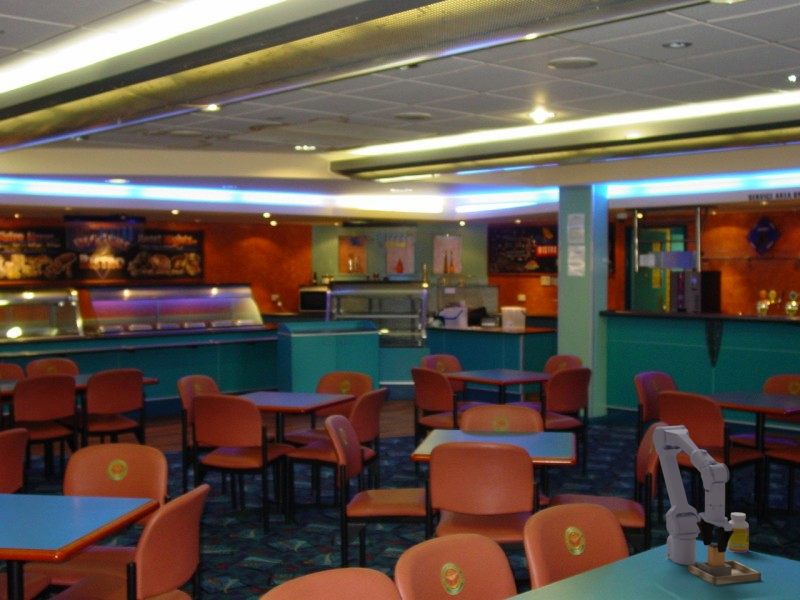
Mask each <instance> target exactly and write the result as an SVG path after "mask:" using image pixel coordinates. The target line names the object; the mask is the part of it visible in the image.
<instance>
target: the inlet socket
mask: <svg viewBox="0 0 800 600" xmlns="http://www.w3.org/2000/svg"><path fill="white" fill-rule="evenodd" d="M697 564H698V569H700V570H702V571H704V572H706V573H708V574H710V575H712V576H714V577H720V576H729V575H732V566H730V565H728V564H726V563H725V566H718V567H710V566H708V565H707V561H702V562H701V561H700V562H697Z"/></svg>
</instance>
